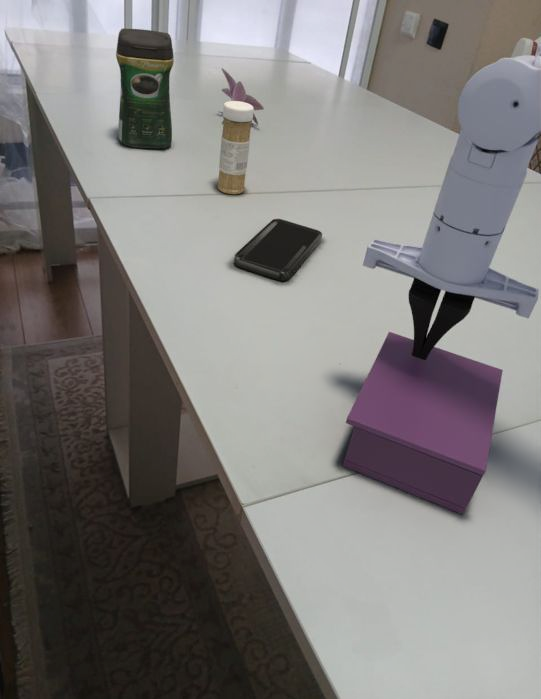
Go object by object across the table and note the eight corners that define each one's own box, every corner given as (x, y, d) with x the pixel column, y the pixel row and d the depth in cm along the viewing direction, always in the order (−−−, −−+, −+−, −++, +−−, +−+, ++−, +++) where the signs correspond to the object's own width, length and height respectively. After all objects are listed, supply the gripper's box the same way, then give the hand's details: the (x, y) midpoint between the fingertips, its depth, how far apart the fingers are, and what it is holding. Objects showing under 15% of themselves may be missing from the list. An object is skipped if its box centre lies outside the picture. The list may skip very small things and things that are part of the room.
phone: (231, 257, 77) (275, 217, 88) (230, 265, 77) (274, 224, 89) (288, 275, 75) (325, 232, 86) (287, 283, 75) (323, 239, 87)
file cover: (345, 423, 49) (347, 418, 49) (387, 336, 60) (389, 331, 60) (483, 476, 46) (485, 470, 46) (500, 374, 58) (503, 369, 57)
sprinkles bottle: (237, 183, 100) (246, 99, 92) (249, 194, 97) (259, 109, 89) (212, 185, 98) (219, 99, 90) (223, 196, 95) (231, 109, 87)
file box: (342, 466, 52) (354, 426, 49) (383, 375, 63) (395, 338, 60) (462, 515, 49) (483, 476, 46) (483, 411, 60) (500, 374, 58)
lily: (260, 140, 123) (280, 95, 121) (209, 112, 117) (229, 65, 116) (243, 139, 133) (261, 97, 131) (196, 113, 128) (214, 70, 126)
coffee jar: (170, 137, 114) (174, 29, 102) (172, 152, 107) (176, 38, 96) (118, 133, 111) (116, 22, 100) (117, 148, 105) (114, 31, 94)
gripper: (562, 227, 49) (501, 356, 57) (393, 180, 53) (359, 308, 61) (560, 261, 44) (494, 398, 52) (373, 206, 47) (338, 343, 55)
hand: (420, 352), depth 56 cm, fingers closed
